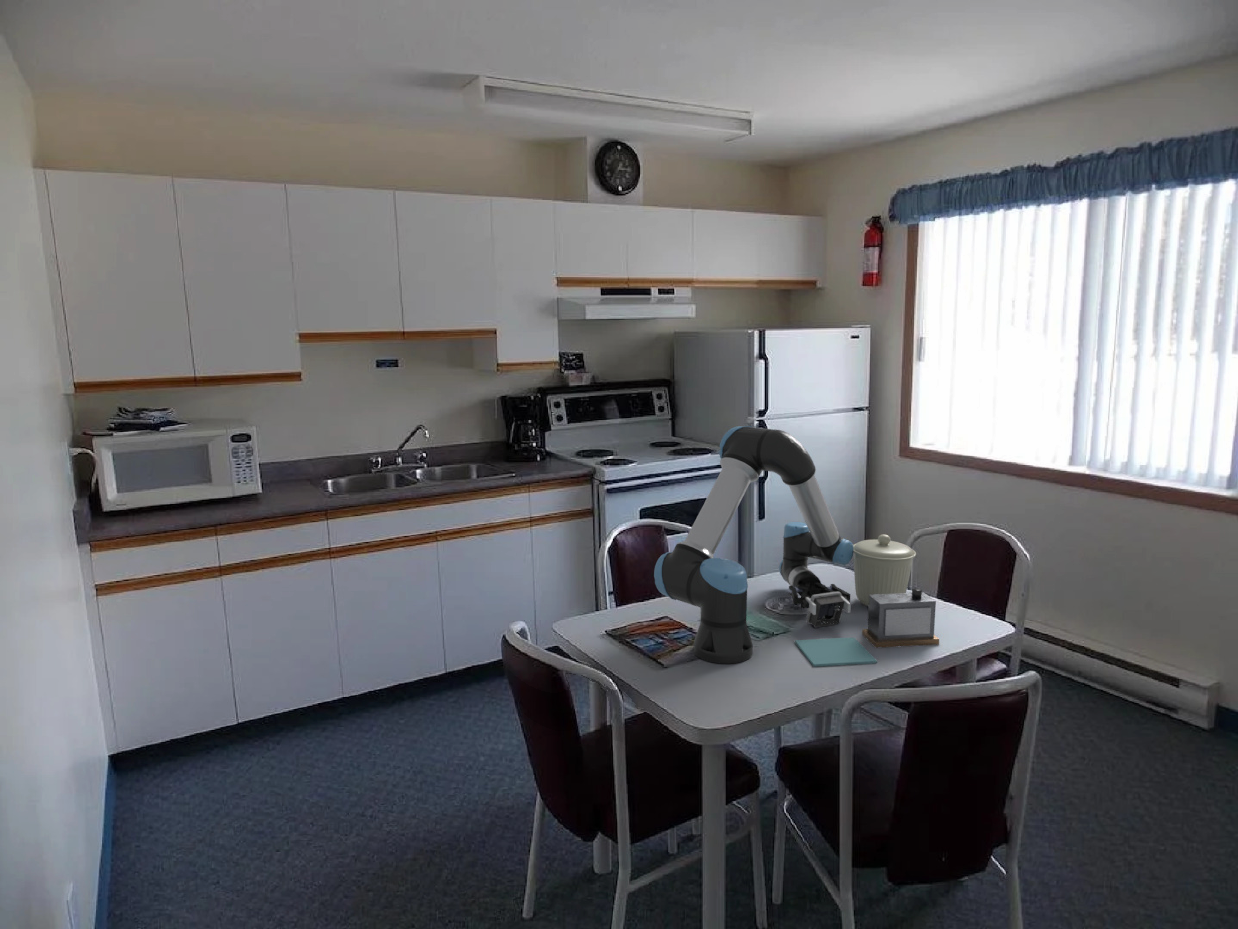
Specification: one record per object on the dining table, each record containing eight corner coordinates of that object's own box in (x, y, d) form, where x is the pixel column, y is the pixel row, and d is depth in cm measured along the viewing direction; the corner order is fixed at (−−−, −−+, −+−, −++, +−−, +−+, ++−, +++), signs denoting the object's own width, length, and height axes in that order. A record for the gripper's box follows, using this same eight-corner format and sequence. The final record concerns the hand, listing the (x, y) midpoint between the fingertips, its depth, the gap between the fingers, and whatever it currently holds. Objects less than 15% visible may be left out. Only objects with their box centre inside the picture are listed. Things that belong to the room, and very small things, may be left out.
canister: (874, 617, 226) (879, 545, 223) (835, 596, 243) (839, 529, 239) (925, 610, 233) (931, 540, 229) (883, 590, 249) (888, 524, 246)
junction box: (875, 647, 206) (878, 597, 204) (862, 634, 215) (864, 586, 213) (938, 644, 208) (941, 594, 205) (922, 631, 217) (925, 583, 214)
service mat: (813, 666, 196) (814, 664, 196) (794, 642, 210) (794, 640, 210) (877, 663, 197) (877, 660, 197) (853, 639, 212) (853, 637, 212)
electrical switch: (833, 618, 226) (836, 588, 223) (844, 627, 221) (847, 596, 219) (804, 623, 223) (807, 592, 220) (815, 631, 218) (818, 600, 215)
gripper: (839, 593, 240) (870, 620, 218) (769, 596, 238) (792, 624, 216) (840, 569, 239) (871, 594, 217) (769, 572, 237) (793, 597, 215)
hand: (831, 609), depth 216 cm, fingers closed on electrical switch, 9 cm apart
